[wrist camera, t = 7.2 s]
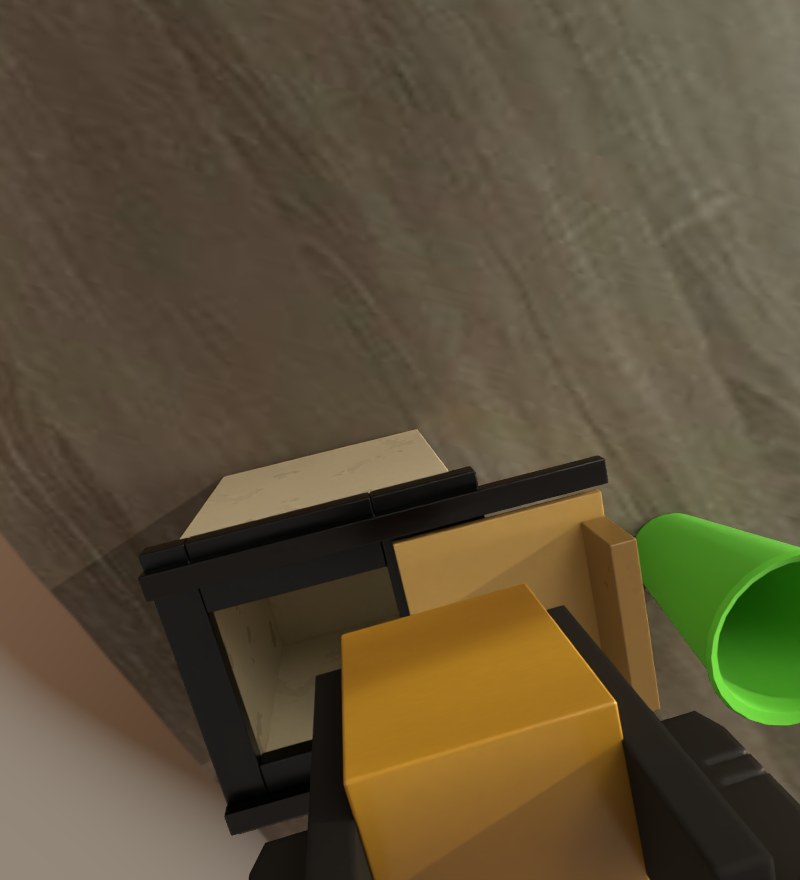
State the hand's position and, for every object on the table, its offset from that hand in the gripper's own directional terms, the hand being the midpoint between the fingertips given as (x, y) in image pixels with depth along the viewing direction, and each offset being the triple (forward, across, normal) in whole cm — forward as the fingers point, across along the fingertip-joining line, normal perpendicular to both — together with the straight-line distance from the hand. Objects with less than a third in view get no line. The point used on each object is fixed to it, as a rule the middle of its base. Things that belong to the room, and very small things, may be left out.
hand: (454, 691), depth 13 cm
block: (0, 0, 0) cm, 0 cm away
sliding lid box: (+21, -1, -4) cm, 22 cm away
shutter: (+9, +4, -4) cm, 10 cm away
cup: (+21, +17, -10) cm, 29 cm away
